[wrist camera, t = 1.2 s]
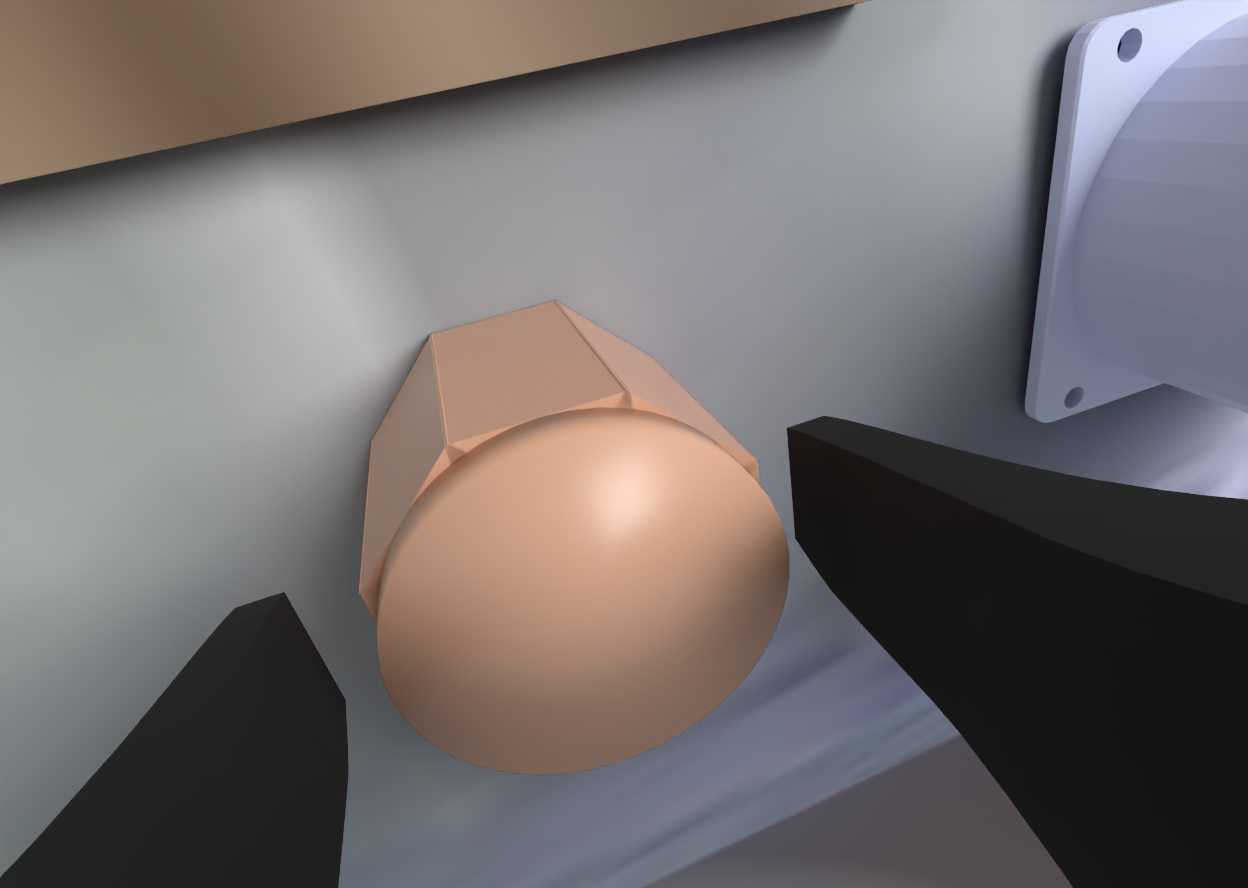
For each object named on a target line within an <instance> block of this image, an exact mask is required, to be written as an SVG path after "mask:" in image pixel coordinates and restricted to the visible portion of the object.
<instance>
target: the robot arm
mask: <svg viewBox="0 0 1248 888" xmlns="http://www.w3.org/2000/svg"><path fill="white" fill-rule="evenodd" d="M1120 39H1121V41H1122V44H1121V48H1120V51H1119V53H1118V55H1117V48H1118V44H1119V41H1120ZM1163 383H1166V384H1169V385H1171V386H1174V387H1177V388H1180V389H1182V390H1185V391H1188V392H1191V393H1193V394H1196V395H1199V396H1202V397H1205V398H1207V399H1210V400H1213V401H1216V402H1218V403H1221V404H1224V405H1227V406H1229V407H1232V408H1235V409H1238V410H1241V411H1243V412H1246V413H1248V0H1178V1H1174V2H1170V3H1165V4H1161V5H1157V6H1152V7H1148V8H1144V9H1139V10H1135V11H1131V12H1126V13H1122V14H1118V15H1113V16H1109V17H1105V18H1100V19H1096V20H1093V21H1091V22H1088V23H1086V24H1084V25H1083V26H1082V27H1081V28H1080V29H1079V30H1078V31H1077V32H1076V34H1075V35H1074V37H1073V39H1072V41H1071V43H1070V44H1069V47H1068V51H1067V55H1066V60H1065V69H1064V77H1063V85H1062V94H1061V102H1060V111H1059V119H1058V128H1057V136H1056V145H1055V153H1054V161H1053V170H1052V178H1051V187H1050V195H1049V204H1048V212H1047V221H1046V229H1045V237H1044V246H1043V254H1042V263H1041V271H1040V280H1039V288H1038V296H1037V305H1036V313H1035V322H1034V330H1033V339H1032V347H1031V356H1030V364H1029V372H1028V381H1027V389H1026V398H1025V411H1026V413H1027V414H1028V416H1030V417H1032V418H1034V419H1036V420H1038V421H1040V422H1043V423H1049V422H1053V421H1056V420H1059V419H1062V418H1065V417H1068V416H1071V415H1074V414H1077V413H1079V412H1082V411H1085V410H1088V409H1091V408H1094V407H1097V406H1100V405H1103V404H1106V403H1108V402H1111V401H1114V400H1117V399H1120V398H1123V397H1126V396H1129V395H1132V394H1135V393H1137V392H1140V391H1143V390H1146V389H1149V388H1152V387H1155V386H1158V385H1161V384H1163ZM787 435H788V448H789V461H790V475H791V488H792V501H793V514H794V527H795V539H796V540H797V542H798V543H799V545H800V546H801V548H802V549H803V551H804V552H805V554H806V555H807V557H808V558H809V560H810V561H811V563H812V564H813V566H814V567H815V568H816V570H817V571H818V573H819V574H820V575H821V577H822V578H823V580H824V581H825V582H826V584H827V585H828V587H829V588H830V589H831V591H832V592H833V593H834V594H835V595H836V596H837V597H838V599H839V600H840V601H841V602H842V603H843V604H844V605H845V606H846V608H847V609H848V610H849V611H850V612H851V613H852V614H853V615H854V616H855V617H856V619H857V620H858V621H859V622H860V623H861V624H862V625H863V626H864V627H865V628H866V630H867V631H868V632H869V633H870V634H871V635H872V636H873V637H874V638H875V639H876V640H877V641H878V643H879V644H880V645H881V646H882V647H883V648H884V649H885V650H886V651H887V652H888V653H889V654H890V656H891V657H892V658H893V659H894V660H895V661H896V662H897V663H898V664H899V665H900V666H901V667H902V669H903V670H904V671H905V672H906V673H907V674H908V675H909V676H910V677H911V678H912V679H913V680H914V682H915V683H916V684H917V685H918V686H919V687H920V688H921V689H922V690H923V691H924V692H925V693H926V695H927V696H928V697H929V698H930V699H931V700H932V701H933V702H934V703H935V704H936V705H937V707H938V708H939V709H940V710H941V711H942V712H943V714H944V715H945V716H946V717H947V718H948V719H949V721H950V722H951V723H952V724H953V725H954V727H955V728H956V729H957V730H958V731H959V732H960V734H961V735H962V736H963V738H964V739H965V740H966V742H967V743H968V744H969V745H970V747H971V748H972V749H973V751H974V752H975V753H976V755H977V756H978V757H979V759H980V760H981V761H982V763H983V764H984V765H985V767H986V768H987V769H988V771H989V772H990V773H991V774H992V776H993V777H994V778H995V780H996V781H997V782H998V784H999V785H1000V786H1001V788H1002V789H1003V790H1004V792H1005V793H1006V794H1007V796H1008V797H1009V798H1010V800H1011V801H1012V802H1013V804H1014V805H1015V807H1016V808H1017V809H1018V811H1019V812H1020V814H1021V815H1022V816H1023V818H1024V819H1025V820H1026V822H1027V823H1028V825H1029V826H1030V827H1031V829H1032V830H1033V831H1034V833H1035V834H1036V836H1037V837H1038V839H1039V840H1040V841H1041V843H1042V844H1043V846H1044V847H1045V848H1046V850H1047V851H1048V852H1049V854H1050V855H1051V857H1052V858H1053V859H1054V861H1055V862H1056V864H1057V865H1058V866H1059V868H1060V869H1061V871H1062V872H1063V873H1064V875H1065V876H1066V878H1067V879H1068V880H1069V882H1070V884H1071V885H1072V887H1073V888H1248V500H1246V499H1236V498H1226V497H1216V496H1205V495H1197V494H1189V493H1181V492H1173V491H1165V490H1158V489H1151V488H1145V487H1138V486H1132V485H1126V484H1119V483H1113V482H1106V481H1100V480H1094V479H1088V478H1083V477H1077V476H1072V475H1067V474H1062V473H1057V472H1052V471H1047V470H1043V469H1038V468H1034V467H1029V466H1025V465H1020V464H1015V463H1011V462H1006V461H1002V460H998V459H994V458H990V457H985V456H981V455H977V454H973V453H969V452H965V451H962V450H958V449H954V448H950V447H946V446H942V445H939V444H935V443H931V442H927V441H924V440H920V439H916V438H913V437H909V436H905V435H902V434H898V433H894V432H891V431H887V430H883V429H880V428H876V427H872V426H868V425H864V424H860V423H856V422H852V421H848V420H843V419H839V418H833V417H828V416H822V417H819V418H816V419H813V420H810V421H807V422H804V423H801V424H798V425H795V426H792V427H789V428H787ZM347 785H348V739H347V721H346V704H345V698H344V696H343V695H342V693H341V691H340V689H339V688H338V686H337V684H336V682H335V681H334V679H333V677H332V675H331V674H330V672H329V670H328V668H327V666H326V665H325V663H324V661H323V659H322V658H321V656H320V654H319V652H318V651H317V649H316V647H315V645H314V644H313V642H312V640H311V638H310V637H309V635H308V633H307V631H306V629H305V628H304V626H303V624H302V622H301V621H300V619H299V617H298V615H297V614H296V612H295V610H294V608H293V607H292V605H291V603H290V601H289V599H288V598H287V596H286V594H285V592H283V593H280V594H277V595H274V596H270V597H267V598H264V599H261V600H258V601H255V602H252V603H249V604H246V605H243V606H240V607H237V608H235V609H234V610H233V611H232V612H231V613H230V614H229V615H228V616H227V617H226V618H225V619H224V621H223V622H222V623H221V624H220V625H219V626H218V627H217V628H216V630H215V631H214V632H213V633H212V634H211V635H210V637H209V638H208V639H207V640H206V641H205V643H204V644H203V645H202V646H201V647H200V649H199V650H198V651H197V652H196V654H195V655H194V656H193V657H192V658H191V660H190V661H189V662H188V663H187V664H186V666H185V667H184V668H183V669H182V671H181V672H180V673H179V674H178V676H177V677H176V678H175V679H174V680H173V682H172V683H171V684H170V685H169V687H168V688H167V689H166V690H165V691H164V693H163V694H162V695H161V696H160V697H159V699H158V700H157V701H156V702H155V703H154V705H153V706H152V707H151V708H150V709H149V711H148V712H147V713H146V714H145V715H144V717H143V718H142V719H141V720H140V722H139V723H138V724H137V725H136V726H135V728H134V729H133V730H132V731H131V732H130V734H129V735H128V736H127V737H126V738H125V740H124V741H123V742H122V743H121V744H120V746H119V747H118V748H117V749H116V750H115V751H114V753H113V754H112V755H111V756H110V757H109V758H108V759H107V760H106V762H105V763H104V764H103V765H102V766H101V767H100V768H99V769H98V771H97V772H96V773H95V774H94V775H93V776H92V777H91V778H90V780H89V781H88V782H87V783H86V784H85V785H84V786H83V787H82V789H81V790H80V791H79V792H78V793H77V794H76V795H75V797H74V798H73V799H72V800H71V801H70V802H69V803H68V804H67V806H66V807H65V808H64V809H63V810H62V811H61V812H60V813H59V815H58V816H57V817H56V818H55V819H54V820H53V821H52V822H51V824H50V825H49V826H48V827H47V828H46V829H45V830H44V831H43V833H42V834H41V835H40V836H39V837H38V838H37V839H36V840H35V841H34V842H33V843H32V845H31V846H30V847H29V848H28V849H27V850H26V851H25V852H24V853H23V854H22V855H21V856H20V857H19V858H18V859H17V861H16V862H15V863H14V864H13V865H12V866H11V867H10V868H9V869H8V870H7V871H6V872H5V873H4V874H3V875H2V876H1V877H0V888H338V883H339V873H340V862H341V852H342V842H343V831H344V820H345V808H346V797H347Z"/></svg>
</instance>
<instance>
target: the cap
mask: <svg viewBox="0 0 1248 888" xmlns="http://www.w3.org/2000/svg"><path fill="white" fill-rule="evenodd" d="M429 335H430V336H429V338H428V340H427V342H426V344H425V345H424V347H423V349H422V351H421V353H420V354H419V356H418V358H417V360H416V362H415V363H414V365H413V367H412V369H411V371H410V372H409V374H408V376H407V378H406V380H405V381H404V383H403V385H402V387H401V389H400V390H399V392H398V394H397V396H396V397H395V399H394V401H393V403H392V405H391V406H390V408H389V410H388V412H387V414H386V415H385V417H384V419H383V421H382V423H381V424H380V426H379V428H378V430H377V432H376V433H375V435H374V437H373V438H372V439H371V451H370V463H369V475H368V487H367V499H366V511H365V523H364V535H363V547H362V559H361V571H360V583H359V594H360V595H361V597H362V599H363V601H364V603H365V605H366V607H367V609H368V611H369V613H370V615H371V617H372V619H373V621H374V623H375V625H376V627H377V652H378V659H379V664H380V669H381V674H382V678H383V681H384V683H385V685H386V688H387V690H388V693H389V695H390V698H391V699H392V701H393V702H394V704H395V706H396V707H397V709H398V710H399V712H400V713H401V715H402V716H403V718H404V719H405V720H406V721H407V722H408V723H409V724H410V725H411V726H412V727H413V729H414V730H415V731H416V732H417V733H419V734H420V735H421V736H422V737H424V738H425V739H426V740H427V741H429V742H430V743H431V744H432V745H434V746H435V747H437V748H439V749H441V750H442V751H444V752H446V753H448V754H449V755H451V756H453V757H455V758H458V759H460V760H463V761H465V762H468V763H470V764H473V765H476V766H480V767H484V768H488V769H491V770H495V771H501V772H508V773H516V774H533V775H548V774H563V773H571V772H578V771H584V770H590V769H594V768H598V767H602V766H606V765H610V764H614V763H617V762H620V761H623V760H626V759H628V758H631V757H634V756H637V755H639V754H641V753H644V752H646V751H648V750H650V749H653V748H655V747H657V746H659V745H661V744H663V743H665V742H666V741H668V740H670V739H672V738H674V737H676V736H677V735H679V734H681V733H682V732H684V731H685V730H687V729H688V728H690V727H691V726H693V725H694V724H696V723H697V722H699V721H700V720H701V719H703V718H704V717H705V716H706V715H708V714H709V713H710V712H711V711H713V710H714V709H715V708H716V707H718V706H719V705H720V704H721V703H722V702H723V701H724V700H725V699H726V698H727V697H728V696H729V695H730V694H731V693H732V692H733V691H734V690H735V689H736V688H737V687H738V686H739V685H740V683H741V682H742V681H743V680H744V679H745V678H746V676H747V675H748V674H749V673H750V671H751V670H752V669H753V667H754V666H755V664H756V663H757V662H758V660H759V659H760V657H761V656H762V654H763V652H764V651H765V649H766V647H767V645H768V643H769V642H770V640H771V638H772V636H773V634H774V632H775V629H776V627H777V624H778V622H779V620H780V617H781V614H782V610H783V607H784V603H785V600H786V596H787V589H788V581H789V552H788V546H787V540H786V535H785V532H784V529H783V526H782V523H781V520H780V517H779V515H778V513H777V511H776V509H775V507H774V505H773V504H772V502H771V500H770V498H769V497H768V496H767V494H766V493H765V492H764V490H763V489H762V488H761V487H760V480H759V470H758V463H759V462H758V461H757V459H756V458H755V457H754V456H753V455H752V454H751V453H750V452H749V451H748V450H746V449H745V448H744V447H743V446H742V445H741V444H740V443H739V442H738V441H737V440H736V439H735V438H734V437H733V436H732V435H731V434H730V433H729V432H728V431H727V430H726V429H725V428H724V427H723V426H722V425H721V424H720V423H719V422H718V421H717V420H716V419H715V418H714V417H713V416H712V415H711V414H710V413H709V412H708V411H707V410H706V409H705V408H704V407H703V406H702V405H701V404H700V403H699V402H698V401H697V400H696V399H695V398H694V397H693V396H692V395H691V394H690V393H689V392H688V391H687V390H686V389H685V388H684V387H683V386H682V385H681V384H680V383H679V382H678V381H677V380H676V379H675V378H674V377H673V376H672V375H671V374H670V373H669V372H668V371H667V370H666V369H665V368H664V367H662V366H661V365H660V364H659V363H658V362H657V361H656V360H655V359H654V358H653V357H651V356H649V355H647V354H646V353H644V352H642V351H640V350H639V349H637V348H635V347H634V346H632V345H630V344H628V343H627V342H625V341H623V340H622V339H620V338H618V337H617V336H615V335H613V334H611V333H610V332H608V331H606V330H605V329H603V328H601V327H600V326H598V325H596V324H594V323H593V322H591V321H589V320H588V319H586V318H584V317H583V316H581V315H579V314H577V313H576V312H574V311H572V310H571V309H569V308H567V307H565V306H564V305H562V304H560V303H559V302H558V301H557V300H554V301H551V302H548V303H544V304H540V305H537V306H533V307H529V308H526V309H522V310H518V311H514V312H511V313H507V314H503V315H500V316H496V317H492V318H489V319H485V320H481V321H477V322H474V323H470V324H466V325H463V326H459V327H455V328H452V329H448V330H444V331H441V332H437V333H433V334H432V333H431V334H429Z"/></svg>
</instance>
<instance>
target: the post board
mask: <svg viewBox="0 0 1248 888" xmlns="http://www.w3.org/2000/svg"><path fill="white" fill-rule="evenodd" d="M866 1H871V0H0V185H1V184H6V183H10V182H15V181H20V180H25V179H29V178H34V177H39V176H44V175H48V174H53V173H58V172H63V171H67V170H72V169H77V168H81V167H86V166H91V165H96V164H100V163H105V162H110V161H115V160H119V159H124V158H129V157H133V156H138V155H143V154H148V153H152V152H157V151H162V150H167V149H171V148H176V147H181V146H186V145H190V144H195V143H200V142H204V141H209V140H214V139H219V138H223V137H228V136H233V135H238V134H242V133H247V132H252V131H257V130H261V129H266V128H271V127H275V126H280V125H285V124H290V123H294V122H299V121H304V120H309V119H313V118H318V117H323V116H327V115H332V114H337V113H342V112H346V111H351V110H356V109H361V108H365V107H370V106H375V105H380V104H384V103H389V102H394V101H398V100H403V99H408V98H413V97H417V96H422V95H427V94H432V93H436V92H441V91H446V90H450V89H455V88H460V87H465V86H469V85H474V84H479V83H484V82H488V81H493V80H498V79H503V78H507V77H512V76H517V75H521V74H526V73H531V72H536V71H540V70H545V69H550V68H555V67H559V66H564V65H569V64H574V63H578V62H583V61H588V60H592V59H597V58H602V57H607V56H611V55H616V54H621V53H626V52H630V51H635V50H640V49H644V48H649V47H654V46H659V45H663V44H668V43H673V42H678V41H682V40H687V39H692V38H697V37H701V36H706V35H711V34H715V33H720V32H725V31H730V30H734V29H739V28H744V27H749V26H753V25H758V24H763V23H767V22H772V21H777V20H782V19H786V18H791V17H796V16H801V15H805V14H810V13H815V12H820V11H824V10H829V9H834V8H838V7H843V6H848V5H853V4H857V3H862V2H866Z"/></svg>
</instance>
